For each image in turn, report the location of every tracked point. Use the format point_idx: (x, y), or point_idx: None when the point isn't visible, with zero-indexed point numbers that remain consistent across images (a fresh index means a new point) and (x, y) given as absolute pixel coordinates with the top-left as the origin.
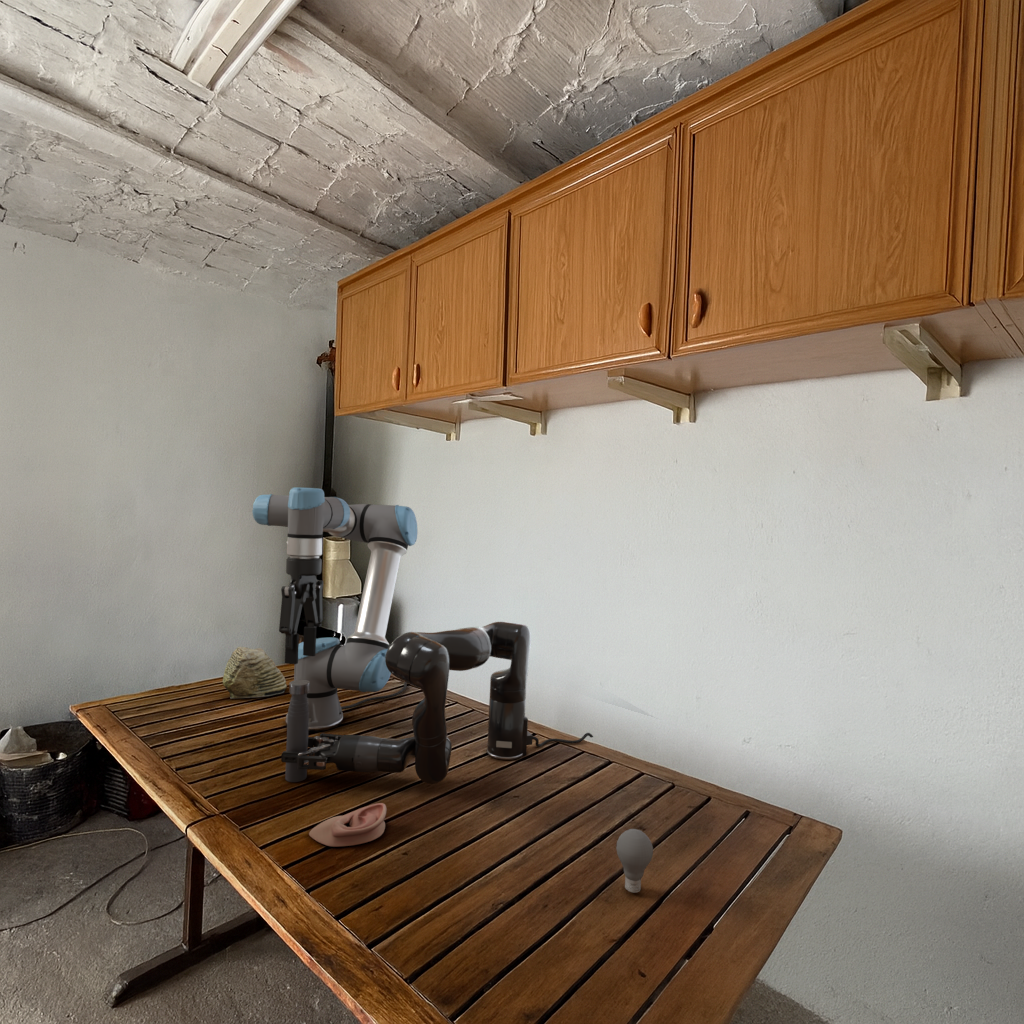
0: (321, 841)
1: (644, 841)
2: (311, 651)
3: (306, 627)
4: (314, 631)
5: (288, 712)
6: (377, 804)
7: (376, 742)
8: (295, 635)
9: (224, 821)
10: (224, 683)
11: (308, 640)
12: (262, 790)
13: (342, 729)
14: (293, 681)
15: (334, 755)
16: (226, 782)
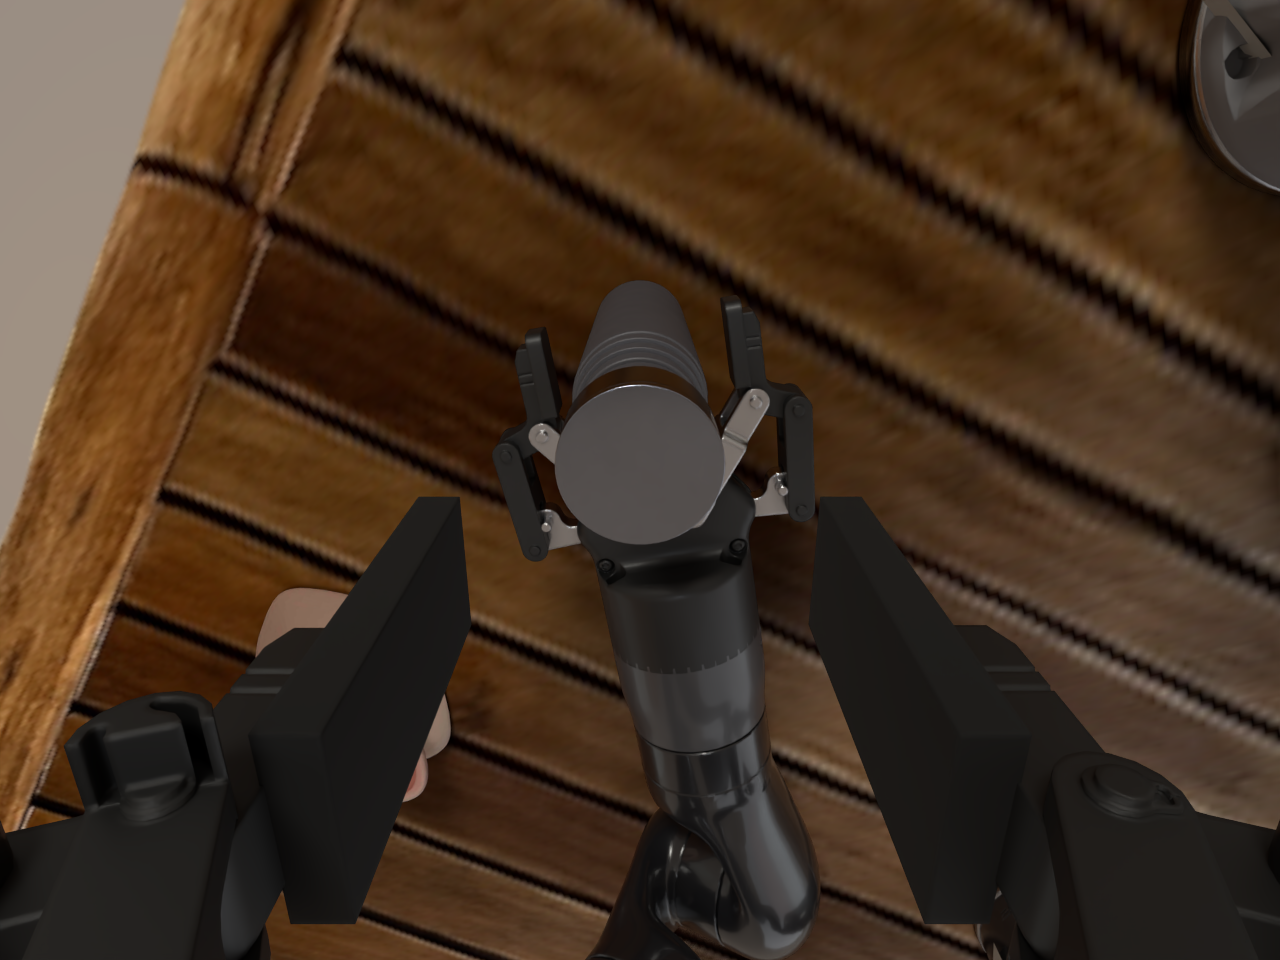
0: (257, 647)
1: None
2: (823, 628)
3: (946, 781)
4: (902, 866)
5: (589, 358)
6: (416, 771)
7: (671, 740)
8: (295, 880)
9: (227, 274)
10: None
11: (869, 666)
12: (490, 257)
13: (1244, 238)
14: (647, 405)
15: (596, 566)
16: (496, 43)
